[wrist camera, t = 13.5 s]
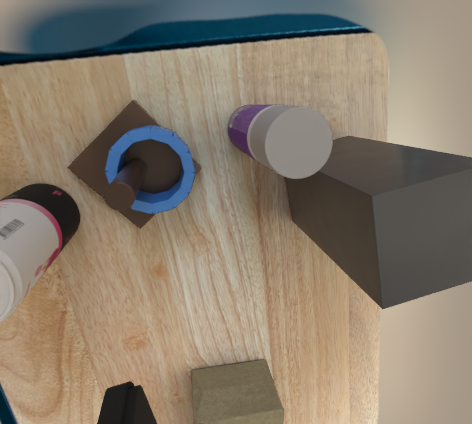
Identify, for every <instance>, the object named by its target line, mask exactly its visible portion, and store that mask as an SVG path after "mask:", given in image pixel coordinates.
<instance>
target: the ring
mask: <svg viewBox="0 0 472 424" xmlns="http://www.w3.org/2000/svg"><path fill="white" fill-rule="evenodd" d="M148 139H152V140H155V141H159V142H162V143H166V144H168V145H169V146H170V147H171V148H172V149H173V150H174V151H175V152H176V153H177V154H178V155H179V156H180V159H181V163H182V166H183V169H182V173H181V176H180V180H179V181H178V182H177V183H176V184H175V185H174V186H173V187H172V188H171V189H170V190H169V191H165V192H161V193H157V194H151V193H147V192H144V191H140V190H139V192H138V194H137V196H136V199H135V201H134V203H133V205H132V206H131V209H133V210H137V211H141V212H145V213H149V214H152V212H153V214H156V213H159V212H163V211H167V210H171V209H173V207H174V208H175V207H176V206H177V205H179V204H180V203H181V202H182V201H183V200H184V199H185V198H186V197H187V196H188V195H189V193H190V191H191V188H192V184H193V181H194V177H195V168H194V164H193V160H192V156H191V153H190V150H189V148H188V145H187V144H186V143H185V142H184V141H183V140H182V139H181V138H180V137H179V136H178V135H177V134H176V133H175V132H173V131H172V130H169V129H166V128H162V127H159V126H156V125H153V126H152V125H148V126H144V127H140V128H135V129H132V130H130V131H128V132H127V133H125V134H124V135H123V136H122V137H121V138H120V139H119V140H118V141H117V142H116V143H115V144H114V145H113V146H112V147H111V149H110V150H109V154H108V159H107V163H106V168H105V171H106V172H105V174H106V176H107V179H108V182H109V184H110V183H111V182H112V181H113V180H114V178H115V177H116V176H117V175H118V173H119V172H120V171H121V170H122V169H123V162H124V158H125V154H126V150H127V149H128V148H129V147H130V146H131V145H132V144H133V143H135V142H140V141H144V140H148Z"/></svg>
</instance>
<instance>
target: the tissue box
mask: <svg viewBox="0 0 472 424" xmlns="http://www.w3.org/2000/svg"><path fill="white" fill-rule="evenodd" d="M191 380H192V396H193V413H194V424H283V422H284V409H283V407H282V404H281V401H280V398H279V395H278V393H277V390H276V387H275V384H274V381H273V379H272V376H271V373H270V370H269V367H268V365H267V362H266V360H258V361H251V362H244V363H237V364H231V365H224V366H217V367H210V368H204V369H197V370H192V371H191Z"/></svg>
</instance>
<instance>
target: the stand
mask: <svg viewBox="0 0 472 424" xmlns="http://www.w3.org/2000/svg"><path fill="white" fill-rule="evenodd" d="M148 125H152V126H153V125H156V126H159V127H161V126H160V125H159V124H158V123H157V122H156V121H155V120H154V119H153V118H152V117H151V116H150V115H149V114H148V113H147V112H146V111H145V110H144V109H143V108H142V107H141V106H140V105H139V104H138V103H137V102H136V101H135V100H133V101H132V102H131V103H130V104H129V105H128V106H127V107H126V108H125V109H124V110H123V111H122V112H121V113H120V114H119V115H118V116H117V117H116V118H115V119H114V120H113V121H112V122H111V123H110V124H109V126H108V127H107V128H106V129H105V130H104V131H103V132H102V133H101V134H100V135H99V136H98V137H97V138H96V139H95V140H94V141H93V142H92V143H91V144H90V145H89V146H88V147H87V148H86V149H85V150H84V151H83V152H82V153H81V154H80V155H79V156H78V157H77V159H76V160H75V161H74V162H73V163H72V164H71V165H70V166H69V167H68V168H69V169H70V170H71V171H72V172H73V173H75V174H76V175H77V176H78V177H79V178H80V179H82V180H83V181H84V182H85V183H86V184H88V185H89V186H90V187H91V188H92V189H93V190H95V191H96V192H97V193H98V194H99V195H101V196H102V197H103V198H104V199H105V201H106V203H107V204H108V205H109V206H110V207H111V208H113V209H115V210H118V211H120V212H121V213H122V214H123V215H124V216H125V217H127V218H128V219H129V220H130V221H131V222H133V223H134V224H135V225H136V226H137V227H139V228H141V227H142V226H144V225H145V224H146V223H147V222H148V221H149V220H150V219H151V218H152V217H153V216H154V215H155V214H153V212H152V214H149V213H145V212H141V211H137V210H133V209H131V206H132V205H133V203H134V201H135V199H136V196H137V194H138V192H139V190H140V191H144V192H147V193H151V194H157V193H161V192H165V191H169V190H170V189H171V188H172V187H173V186H174V185H175V184H176V183H177V182H178V181H179V180H180V176H181V173H182V169H183V166H182V163H181V159H180V156H179V155H178V154H177V153H176V152H175V151H174V150H173V149H172V148H171V147H170V146H169V145H168V144H166V143H162V142H159V141H155V140H152V139H148V140H144V141H140V142H135V143H133V144H132V145H131V146H130V147H129V148H128V149H127V150H126V154H125V158H124V162H123V169H122V170H121V171H120V172H119V173H118V175H117V176H116V177H115V178H114V180H113V181H112V182H111V183H110V184H109V182H108V179H107V176H106V174H105V172H106V171H105V168H106V163H107V159H108V154H109V150H110V149H111V147H112V146H113V145H114V144H115V143H116V142H117V141H118V140H119V139H120V138H121V137H122V136H123V135H124V134H125V133H127V132H128V131H130V130H132V129H135V128H140V127H144V126H148ZM192 160H193V164H194V168H195V174H197V173H198V172H199V171H200V170H201V169H202V168H201V166H200V165H199V164H198V163H197V162H196V161H195V160H194V159H193V158H192Z"/></svg>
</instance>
